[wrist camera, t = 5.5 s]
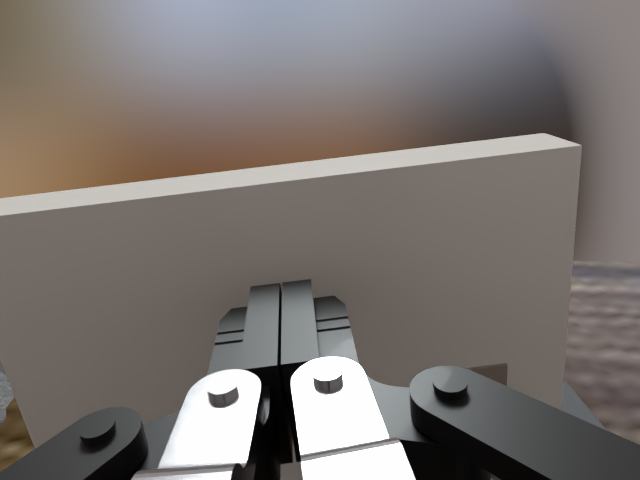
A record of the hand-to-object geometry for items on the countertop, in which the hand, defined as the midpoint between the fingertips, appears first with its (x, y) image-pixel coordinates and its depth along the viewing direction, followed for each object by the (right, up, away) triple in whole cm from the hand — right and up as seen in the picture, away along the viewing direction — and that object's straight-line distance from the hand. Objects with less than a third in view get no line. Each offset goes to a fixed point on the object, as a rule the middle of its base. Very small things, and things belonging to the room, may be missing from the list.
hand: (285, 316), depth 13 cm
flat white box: (+1, -6, +5) cm, 7 cm away
